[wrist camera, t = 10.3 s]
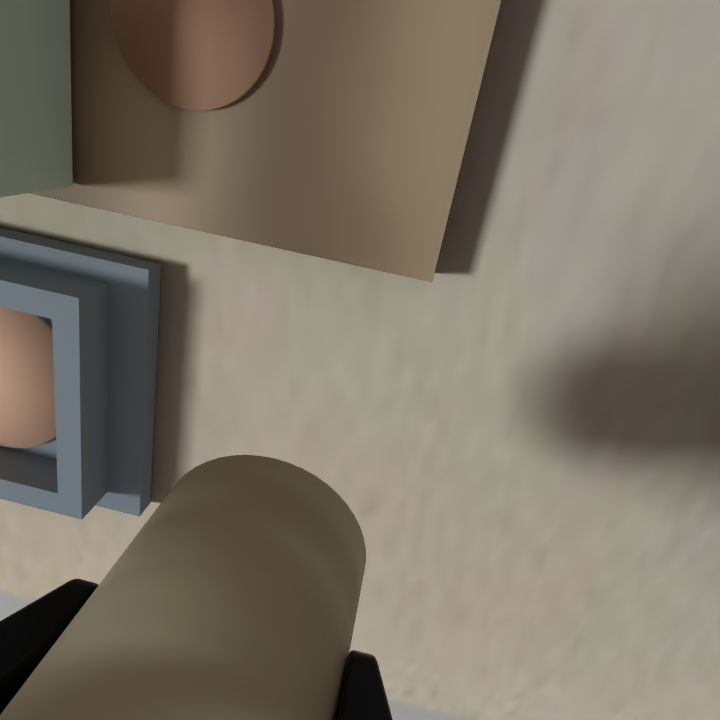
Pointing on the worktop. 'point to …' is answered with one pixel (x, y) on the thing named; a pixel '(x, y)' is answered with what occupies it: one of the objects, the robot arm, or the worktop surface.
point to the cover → (35, 96)
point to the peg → (215, 607)
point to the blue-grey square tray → (76, 375)
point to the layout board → (280, 119)
